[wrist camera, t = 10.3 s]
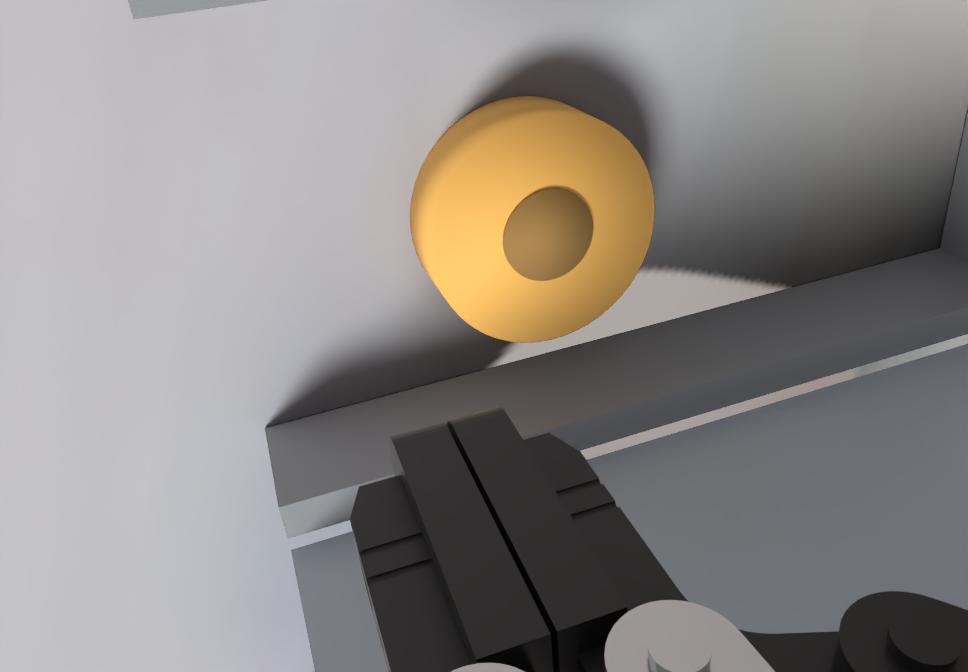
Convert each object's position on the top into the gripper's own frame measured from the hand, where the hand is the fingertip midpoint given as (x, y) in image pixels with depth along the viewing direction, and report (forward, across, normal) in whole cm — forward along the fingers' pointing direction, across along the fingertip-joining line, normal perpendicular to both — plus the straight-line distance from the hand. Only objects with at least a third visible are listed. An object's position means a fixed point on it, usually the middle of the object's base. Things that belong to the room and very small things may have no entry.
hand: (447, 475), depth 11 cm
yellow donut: (+11, -5, +1) cm, 12 cm away
